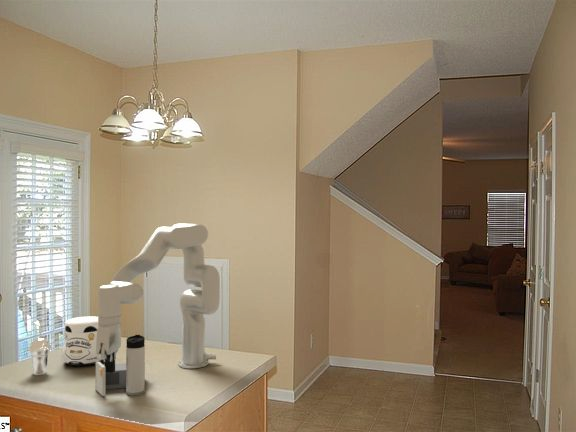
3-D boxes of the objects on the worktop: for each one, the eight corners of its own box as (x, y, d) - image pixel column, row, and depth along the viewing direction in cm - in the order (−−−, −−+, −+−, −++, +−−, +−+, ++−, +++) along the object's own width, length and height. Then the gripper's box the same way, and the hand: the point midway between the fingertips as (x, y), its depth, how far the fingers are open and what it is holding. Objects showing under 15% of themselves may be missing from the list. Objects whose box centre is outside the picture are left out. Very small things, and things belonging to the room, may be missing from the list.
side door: (105, 396, 175) (105, 366, 175) (101, 397, 174) (101, 367, 174) (98, 389, 182) (98, 360, 182) (93, 390, 181) (94, 361, 181)
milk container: (66, 371, 202) (66, 326, 201) (59, 360, 216) (59, 318, 216) (111, 364, 211) (111, 321, 211) (101, 354, 226) (101, 314, 225)
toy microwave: (144, 379, 193) (144, 360, 193) (143, 387, 184) (143, 367, 184) (100, 382, 190) (100, 362, 189) (97, 390, 181) (97, 370, 181)
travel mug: (146, 389, 183) (146, 334, 182) (141, 396, 176) (142, 339, 176) (129, 389, 182) (129, 334, 182) (123, 396, 176) (124, 339, 175)
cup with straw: (28, 377, 194) (28, 326, 193) (27, 371, 201) (27, 321, 201) (52, 374, 198) (52, 323, 198) (50, 368, 206) (50, 319, 205)
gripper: (109, 315, 185) (110, 364, 185) (88, 325, 170) (88, 378, 171) (129, 315, 184) (129, 365, 184) (109, 325, 169) (109, 379, 170)
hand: (109, 371), depth 178 cm, fingers closed
